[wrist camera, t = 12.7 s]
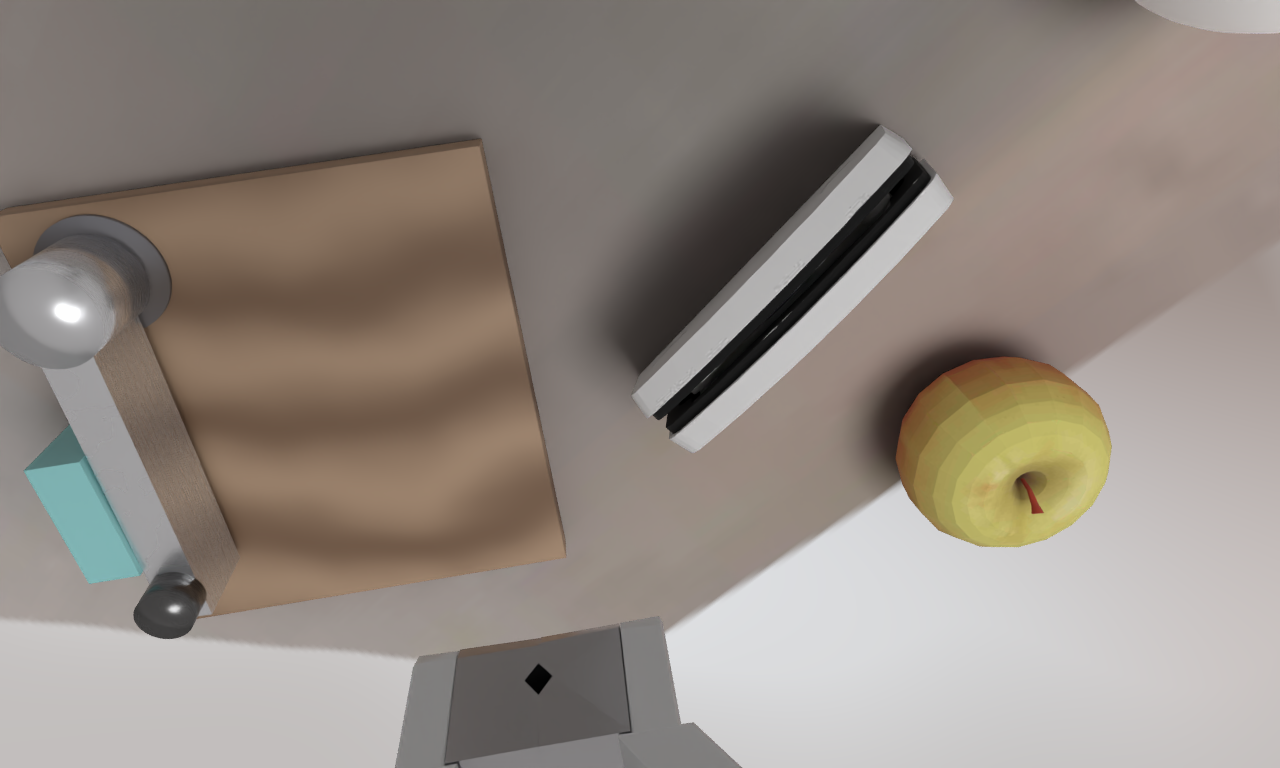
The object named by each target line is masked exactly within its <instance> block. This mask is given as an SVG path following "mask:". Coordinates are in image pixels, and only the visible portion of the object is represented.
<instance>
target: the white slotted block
mask: <svg viewBox="0 0 1280 768" xmlns="http://www.w3.org/2000/svg"><path fill="white" fill-rule="evenodd" d="M911 150H912V148H911V147H910V146H909V145H908V144H907V142H906V141H905V140H904V139H903V138H902V137H900V136H899V135H897V134H895V133H894V132H892V131H891V130H889V129H887V128H886V127H884V126H882V125H879V126H878V127H877V128H876V129H875V131H874V132H873V133H872V134H871V135H870V136H869V137H868V138H867V139H866V140H865V141H864V142H863V143H862V144H861V145H860V146H859V147H858V148H857V149H856V150H855V151H854V152H853V153H852V154H851V155H850V157H849V158H848V159H847V160H846V161H845V162H844V163H843V164H842V165H841V166H840V167H839V168H838V169H837V170H836V171H835V172H834V173H833V174H832V175H831V176H830V177H829V178H828V179H827V180H826V181H825V182H824V184H823V185H822V186H821V187H820V188H819V189H818V190H817V191H816V192H815V193H814V194H813V195H812V196H811V197H810V198H809V199H808V200H807V201H806V202H805V203H804V204H803V205H802V206H801V207H800V208H799V210H798V211H797V212H796V213H795V214H794V215H793V216H792V217H791V218H790V219H789V220H788V221H787V222H786V223H785V224H784V225H783V226H782V227H781V228H780V229H779V230H778V231H777V232H776V233H775V234H774V236H773V237H772V238H771V239H770V240H769V241H768V242H767V243H766V244H765V245H764V246H763V247H762V248H761V249H760V250H759V251H758V252H757V253H756V254H755V255H754V256H753V257H752V258H751V259H750V260H749V261H748V263H747V264H746V265H745V266H744V267H743V268H742V269H741V270H740V271H739V272H738V273H737V274H736V275H735V276H734V277H733V278H732V279H731V280H730V281H729V282H728V283H727V284H726V285H725V286H724V287H723V289H722V290H721V291H720V292H719V293H718V294H717V295H716V296H715V297H714V298H713V299H712V300H711V301H710V302H709V303H708V304H707V305H706V306H705V307H704V308H703V309H702V310H701V311H700V312H699V313H698V314H697V316H696V317H695V318H694V319H693V320H692V321H691V322H690V323H689V324H688V325H687V326H686V327H685V328H684V329H683V330H682V331H681V332H680V333H679V334H678V335H677V336H676V337H675V338H674V339H673V340H672V342H671V343H670V344H669V345H668V346H667V347H666V348H665V349H664V350H663V351H662V352H661V353H660V354H659V355H658V356H657V357H656V358H655V359H654V360H653V361H652V362H651V363H650V364H649V365H648V366H647V367H646V369H645V370H644V371H643V372H642V373H641V374H640V375H639V377H638V380H637V382H636V384H635V387H634V389H633V392H632V394H631V397H632V398H633V399H634V401H635V402H636V404H637V405H638V407H639V408H640V409H641V411H642V412H643V414H644V415H645V416H646V418H649V417H650V416H651V415H653V416H654V417H655V418H656V419H657V420H660V419H662V418H663V417H664V416H666V415H667V414H668V415H667V422H666V428H667V429H668V430H669V431H670V434H669V439H670V440H672V441H673V442H675V443H676V444H678V445H680V446H681V447H683V448H684V449H686V450H687V451H689V452H691V453H695V452H696V451H698V450H700V449H701V448H702V447H703V446H704V445H706V444H707V443H708V442H709V441H710V440H712V439H713V438H714V437H715V436H716V435H718V434H719V433H720V432H721V431H722V430H724V429H725V428H726V427H727V426H728V425H729V424H731V423H732V422H733V421H734V420H735V419H736V418H737V417H739V416H740V415H741V414H742V413H743V412H744V411H746V410H747V409H748V408H749V407H750V406H751V405H752V404H753V403H754V402H756V401H757V400H758V399H759V398H760V397H761V396H762V395H763V394H764V393H765V392H767V391H768V390H769V389H770V388H771V387H772V386H773V385H774V384H775V383H776V382H778V381H779V380H780V379H781V378H782V377H783V376H784V375H785V374H786V373H787V372H789V371H790V370H791V369H792V368H793V367H794V366H795V365H796V364H797V363H798V362H799V361H800V360H801V359H802V358H803V357H805V356H806V355H807V354H808V353H809V352H810V351H811V350H812V349H813V348H814V347H815V346H816V345H817V344H818V343H819V342H820V341H821V340H822V339H823V338H824V337H825V336H826V335H827V334H828V333H829V332H830V331H831V330H832V329H833V328H834V327H835V326H836V325H837V324H838V323H839V322H840V321H841V320H842V319H843V318H844V317H845V316H846V315H847V314H849V313H850V312H851V311H852V310H853V309H854V307H855V306H856V305H857V304H858V303H859V302H860V301H861V300H862V299H863V298H864V297H865V296H866V295H867V294H868V293H869V292H870V291H871V290H872V289H873V288H874V287H875V286H876V285H877V284H878V283H879V282H880V281H881V280H882V279H883V278H884V277H885V276H886V275H887V274H888V273H889V272H890V270H891V269H892V268H893V267H894V266H895V265H896V264H897V263H898V262H899V261H900V260H901V259H902V258H903V257H904V256H905V255H906V254H907V252H908V251H909V250H910V249H911V248H912V247H913V246H914V245H915V244H916V243H917V242H918V241H919V240H920V238H921V237H922V236H923V235H924V234H925V233H926V232H927V231H928V230H929V229H930V227H931V226H932V225H933V224H934V223H935V222H936V221H937V220H938V219H939V218H940V216H941V215H942V214H943V213H944V212H945V211H946V210H947V209H948V207H949V206H950V204H951V203H952V201H953V197H952V195H951V194H950V192H949V191H948V189H947V188H946V186H945V185H944V183H943V182H942V180H941V179H940V177H939V176H938V174H937V173H936V172H935V171H934V169H933V168H932V167H931V166H930V165H929V164H928V163H927V162H926V160H925V159H923V160H922V161H921V162H920V163H918V162H917V161H916V160H915V159H914V158H913V157H912V158H911V157H910V155H909V153H910V152H911ZM888 193H889V194H888ZM806 279H807V280H806ZM805 280H806V281H805ZM804 281H805V282H804ZM803 282H804V283H803ZM802 283H803V284H802ZM801 284H802V285H801ZM800 285H801V286H800ZM799 286H800V287H799ZM798 287H799V288H798ZM797 288H798V289H797Z"/></svg>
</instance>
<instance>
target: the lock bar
mask: <svg viewBox="0 0 1280 768" xmlns="http://www.w3.org/2000/svg"><path fill="white" fill-rule="evenodd" d="M149 296H150V285H149V280H148V277H147V274H146V272H145V270H144V268H143V266H142V265H141V263H140V262H139V261H138V259H137V258H136V257H135V256H134V255H133V254H132V253H131V252H130V251H129V250H127V249H126V248H125V247H123V246H122V245H120V244H119V243H117V242H115V241H113V240H110V239H108V238H105V237H102V236H98V235H93V234H76V235H71V236H68V237H65V238H63V239H61V240H59V241H57V242H56V243H54V244H52V245H51V246H49V247H47V248H46V249H44V250H42V251H41V252H39V253H38V254H36V255H34V256H33V257H31V258H29V259H28V260H26V261H24V262H23V263H21V264H19V265H18V266H16V267H14V268H13V269H11V270H9V271H8V272H6V273H5V274H3V275H1V276H0V345H1V346H2V347H4V348H5V349H6V350H7V351H8V352H10V353H11V354H13V355H14V356H16V357H17V358H19V359H21V360H23V361H25V362H27V363H29V364H32V365H35V366H39V367H42V369H43V371H44V374H45V376H46V378H47V380H48V382H49V384H50V386H51V388H52V390H53V392H54V394H55V396H56V398H57V400H58V402H59V404H60V406H61V408H62V410H63V412H64V414H65V416H66V418H67V420H68V422H69V424H70V426H71V428H72V430H73V432H74V434H75V436H76V438H77V440H78V442H79V444H80V446H81V448H82V450H83V452H84V454H85V456H86V458H87V460H88V462H89V464H90V466H91V468H92V470H93V472H94V474H95V476H96V478H97V480H98V482H99V484H100V486H101V488H102V490H103V492H104V494H105V496H106V498H107V500H108V502H109V504H110V506H111V508H112V510H113V512H114V514H115V516H116V518H117V520H118V522H119V524H120V526H121V528H122V530H123V532H124V534H125V536H126V538H127V540H128V542H129V544H130V546H131V548H132V550H133V552H134V554H135V556H136V558H137V560H138V562H139V564H140V566H141V568H142V570H143V572H144V574H145V576H146V578H147V580H148V582H149V584H150V585H149V586H148V588H147V590H146V591H145V593H144V595H143V596H142V598H141V599H140V601H139V603H138V604H137V606H136V608H135V610H134V620H135V622H136V624H137V626H138V627H139V628H140V629H141V630H143V631H144V632H145V633H147V634H149V635H151V636H154V637H157V638H162V639H174V638H178V637H181V636H184V635H185V634H187V633H188V632H189V631H190V630H191V628H192V627H193V625H194V623H195V621H196V619H197V617H198V616H204V615H211V614H212V613H213V611H214V609H215V607H216V605H217V603H218V601H219V599H220V597H221V595H222V593H223V591H224V589H225V587H226V585H227V583H228V581H229V579H230V577H231V575H232V573H233V571H234V569H235V567H236V565H237V563H238V561H239V559H240V556H239V554H238V551H237V549H236V547H235V544H234V542H233V540H232V537H231V535H230V532H229V530H228V528H227V525H226V523H225V521H224V518H223V516H222V513H221V511H220V509H219V506H218V504H217V502H216V499H215V497H214V494H213V492H212V490H211V487H210V485H209V483H208V480H207V478H206V475H205V473H204V471H203V468H202V466H201V464H200V461H199V459H198V456H197V454H196V452H195V449H194V447H193V445H192V442H191V440H190V437H189V435H188V433H187V430H186V428H185V425H184V423H183V421H182V418H181V416H180V414H179V411H178V409H177V406H176V404H175V402H174V399H173V397H172V395H171V392H170V390H169V387H168V385H167V383H166V380H165V378H164V376H163V373H162V371H161V368H160V366H159V364H158V361H157V359H156V357H155V354H154V352H153V349H152V347H151V345H150V342H149V340H148V338H147V335H146V333H145V330H144V328H143V326H142V323H141V321H140V319H139V316H138V315H140V314H141V313H142V311H143V310H144V309H145V307H146V305H147V303H148V300H149Z"/></svg>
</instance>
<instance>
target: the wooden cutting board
mask: <svg viewBox="0 0 1280 768" xmlns="http://www.w3.org/2000/svg"><path fill="white" fill-rule="evenodd" d="M76 234H93V235H98V236H102V237H105V238H108V239H110V240H113V241H115V242H117V243H119V244H120V245H122V246H123V247H125V248H126V249H127V250H129V251H130V252H131V253H132V254H133V255H134V256H135V257H136V258H137V259H138V261H139V262H140V263H141V265H142V266H143V268H144V270H145V272H146V274H147V277H148V280H149V285H150V296H149V300H148V303H147V305H146V307H145V309H144V310H143V311H142V313H141V314H140V315H138V316H139V319H140V321H141V323H142V326H143V328H144V330H145V333H146V335H147V338H148V340H149V342H150V345H151V347H152V349H153V352H154V354H155V357H156V359H157V361H158V364H159V366H160V368H161V371H162V373H163V376H164V378H165V380H166V383H167V385H168V387H169V390H170V392H171V395H172V397H173V399H174V402H175V404H176V406H177V409H178V411H179V414H180V416H181V418H182V421H183V423H184V425H185V428H186V430H187V433H188V435H189V437H190V440H191V442H192V445H193V447H194V449H195V452H196V454H197V456H198V459H199V461H200V464H201V466H202V468H203V471H204V473H205V475H206V478H207V480H208V483H209V485H210V487H211V490H212V492H213V494H214V497H215V499H216V502H217V504H218V506H219V509H220V511H221V513H222V516H223V518H224V521H225V523H226V525H227V528H228V530H229V532H230V535H231V537H232V540H233V542H234V544H235V547H236V549H237V551H238V554H239V556H240V559H239V561H238V563H237V565H236V567H235V569H234V571H233V573H232V575H231V577H230V579H229V581H228V583H227V585H226V587H225V589H224V591H223V593H222V595H221V597H220V599H219V601H218V603H217V605H216V607H215V609H214V611H213V613H212V614H211V615H204V616H198V617H197V619H199V618H205V617H211V616H217V615H223V614H229V613H235V612H241V611H247V610H253V609H259V608H265V607H271V606H277V605H283V604H289V603H295V602H301V601H307V600H313V599H320V598H326V597H332V596H338V595H344V594H350V593H356V592H362V591H368V590H374V589H380V588H386V587H392V586H398V585H404V584H410V583H416V582H422V581H428V580H434V579H440V578H446V577H452V576H458V575H464V574H470V573H476V572H483V571H489V570H495V569H501V568H507V567H513V566H519V565H525V564H531V563H537V562H543V561H549V560H555V559H561V558H566V542H565V536H564V531H563V526H562V521H561V517H560V512H559V507H558V502H557V497H556V493H555V488H554V483H553V478H552V474H551V469H550V464H549V459H548V454H547V450H546V445H545V440H544V435H543V431H542V426H541V421H540V416H539V411H538V407H537V402H536V397H535V392H534V388H533V383H532V378H531V373H530V368H529V364H528V359H527V354H526V349H525V344H524V340H523V335H522V330H521V325H520V321H519V316H518V311H517V306H516V301H515V297H514V292H513V287H512V282H511V278H510V273H509V268H508V263H507V258H506V254H505V249H504V244H503V239H502V235H501V230H500V225H499V220H498V215H497V211H496V206H495V201H494V196H493V191H492V187H491V182H490V177H489V172H488V168H487V163H486V158H485V153H484V148H483V144H482V139H476V140H469V141H462V142H455V143H448V144H441V145H435V146H428V147H421V148H414V149H407V150H400V151H393V152H387V153H380V154H373V155H366V156H359V157H352V158H346V159H339V160H332V161H325V162H318V163H311V164H304V165H298V166H291V167H284V168H277V169H270V170H263V171H257V172H250V173H243V174H236V175H229V176H222V177H215V178H209V179H202V180H195V181H188V182H181V183H174V184H168V185H161V186H154V187H147V188H140V189H133V190H126V191H120V192H113V193H106V194H99V195H92V196H85V197H79V198H72V199H65V200H58V201H51V202H44V203H37V204H31V205H24V206H17V207H10V208H6V209H4V210H2V211H0V247H1V249H2V251H3V253H4V255H5V257H6V259H7V261H8V263H9V265H10V267H11V268H12V269H13V268H14V267H16V266H18V265H19V264H21V263H23V262H24V261H26V260H28V259H29V258H31V257H33V256H34V255H36V254H38V253H39V252H41V251H42V250H44V249H46V248H47V247H49V246H51V245H52V244H54V243H56V242H57V241H59V240H61V239H63V238H65V237H68V236H71V235H76Z"/></svg>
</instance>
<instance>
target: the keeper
mask: <svg viewBox="0 0 1280 768" xmlns="http://www.w3.org/2000/svg"><path fill="white" fill-rule="evenodd" d="M24 472H25V474H26V476H27V478H28V479H29V481H30V483H31V484H32V486H33V488H34V490H35V491H36V493H37V495H38V497H39V498H40V500H41V502H42V503H43V505H44V507H45V509H46V510H47V512H48V514H49V515H50V517H51V519H52V521H53V522H54V524H55V526H56V527H57V529H58V531H59V533H60V534H61V536H62V538H63V540H64V541H65V543H66V545H67V546H68V548H69V550H70V552H71V553H72V555H73V557H74V558H75V560H76V562H77V564H78V565H79V567H80V569H81V571H82V572H83V574H84V576H85V577H86V579H87V581H88V583H89V584H91V583H97V582H103V581H110V580H116V579H122V578H128V577H134V576H140V575H141V573H142V572H143V570H142V568H141V566H140V564H139V562H138V560H137V558H136V556H135V554H134V552H133V550H132V548H131V546H130V544H129V542H128V540H127V538H126V536H125V534H124V532H123V530H122V528H121V526H120V524H119V522H118V520H117V518H116V516H115V514H114V512H113V510H112V508H111V506H110V504H109V502H108V500H107V498H106V496H105V494H104V492H103V490H102V488H101V486H100V484H99V482H98V480H97V478H96V476H95V474H94V472H93V470H92V468H91V466H90V464H89V462H88V460H87V458H86V456H85V454H84V452H83V450H82V448H81V446H80V444H79V442H78V440H77V438H76V436H75V434H74V432H73V430H72V428H71V426H70V425H69V426H68V427H67V428H66V429H65V430H64V431H63V432H62V433H61V434H60V435H59V436H58V437H57V438H56V439H55V440H54V441H53V442H52V443H51V444H50V445H49V446H48V447H47V448H46V449H45V450H44V451H43V452H42V453H41V454H40V455H39V456H38V457H37V458H36V459H35V460H34V461H33V462H32V463H31V464H30V465H29V466H28V467H27V468H26V469H25V470H24Z"/></svg>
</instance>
